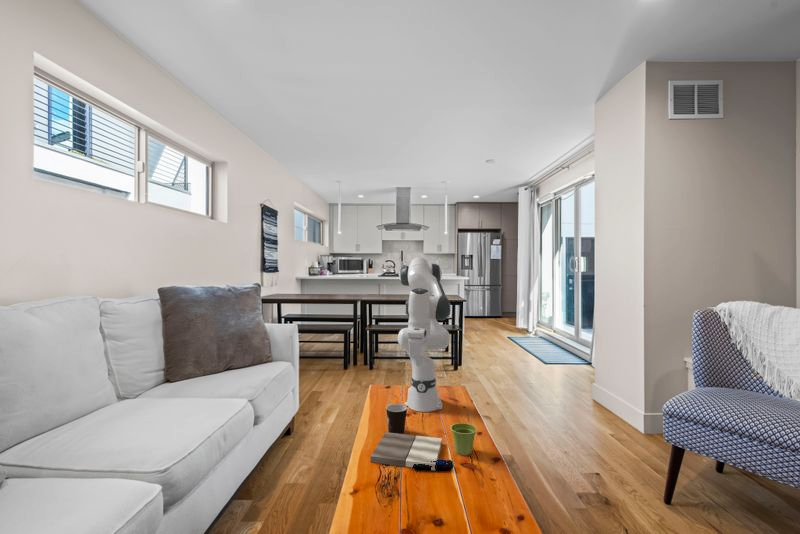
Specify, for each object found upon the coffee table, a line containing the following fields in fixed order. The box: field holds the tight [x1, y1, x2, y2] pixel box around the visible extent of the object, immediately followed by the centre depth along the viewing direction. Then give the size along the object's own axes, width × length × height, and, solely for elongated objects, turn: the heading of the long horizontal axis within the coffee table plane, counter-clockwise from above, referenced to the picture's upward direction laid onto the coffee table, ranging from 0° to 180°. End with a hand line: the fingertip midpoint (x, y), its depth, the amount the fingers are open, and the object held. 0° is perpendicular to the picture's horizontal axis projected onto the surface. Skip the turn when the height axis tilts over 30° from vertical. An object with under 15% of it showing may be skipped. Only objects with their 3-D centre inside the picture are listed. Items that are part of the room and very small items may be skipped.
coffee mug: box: [385, 403, 408, 434], centre depth 152 cm, size 12×9×10 cm
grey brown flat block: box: [369, 431, 416, 467], centre depth 135 cm, size 20×12×2 cm, turn 167°
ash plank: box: [405, 435, 443, 471], centre depth 132 cm, size 20×10×2 cm, turn 167°
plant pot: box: [450, 422, 478, 456], centre depth 135 cm, size 9×9×9 cm
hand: (419, 365), depth 145 cm, fingers closed
